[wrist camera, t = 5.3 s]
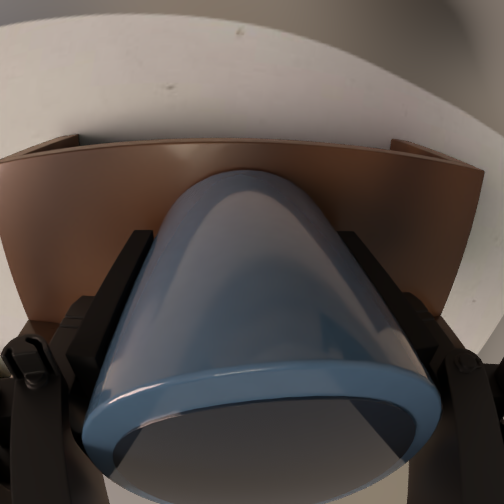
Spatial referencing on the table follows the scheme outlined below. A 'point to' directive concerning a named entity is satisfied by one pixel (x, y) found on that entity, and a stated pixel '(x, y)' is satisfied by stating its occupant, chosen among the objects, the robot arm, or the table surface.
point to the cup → (255, 359)
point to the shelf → (211, 163)
